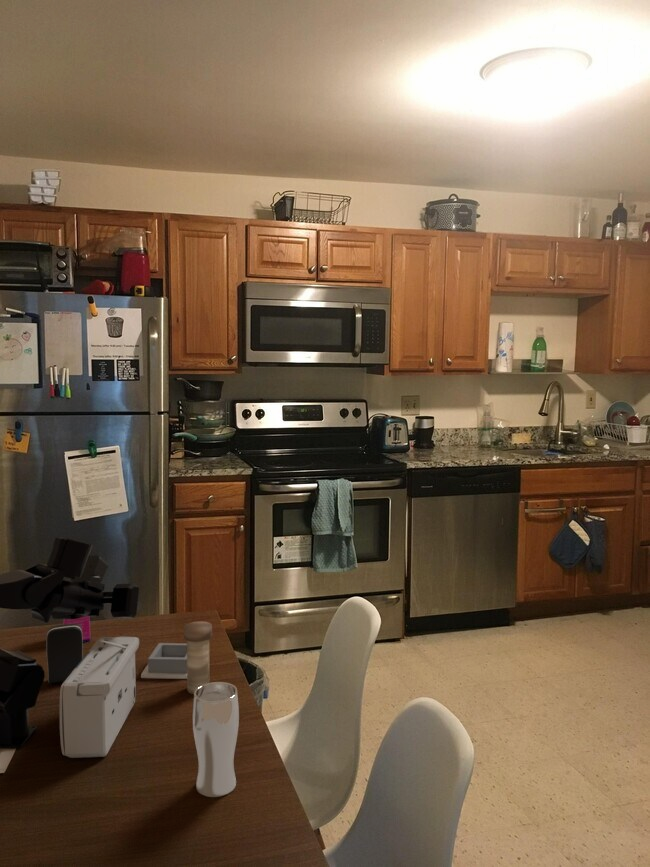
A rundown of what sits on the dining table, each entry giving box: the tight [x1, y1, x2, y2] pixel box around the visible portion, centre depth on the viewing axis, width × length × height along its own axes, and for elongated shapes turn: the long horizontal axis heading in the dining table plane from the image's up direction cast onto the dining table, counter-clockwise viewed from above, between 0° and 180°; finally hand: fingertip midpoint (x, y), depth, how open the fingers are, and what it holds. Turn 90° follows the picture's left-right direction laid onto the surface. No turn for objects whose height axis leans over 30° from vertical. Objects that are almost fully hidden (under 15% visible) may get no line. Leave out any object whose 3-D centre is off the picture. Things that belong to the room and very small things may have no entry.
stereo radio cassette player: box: [59, 636, 140, 759], centre depth 118 cm, size 21×8×20 cm, turn 1°
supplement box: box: [62, 616, 92, 643], centre depth 159 cm, size 6×6×12 cm
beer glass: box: [192, 681, 240, 798], centre depth 102 cm, size 7×7×15 cm
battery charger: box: [45, 623, 84, 685], centre depth 138 cm, size 7×4×11 cm, turn 112°
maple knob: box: [183, 620, 213, 695], centre depth 134 cm, size 6×6×13 cm
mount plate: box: [140, 642, 187, 680], centre depth 144 cm, size 10×11×4 cm
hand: (121, 606), depth 137 cm, fingers open, 9 cm apart
